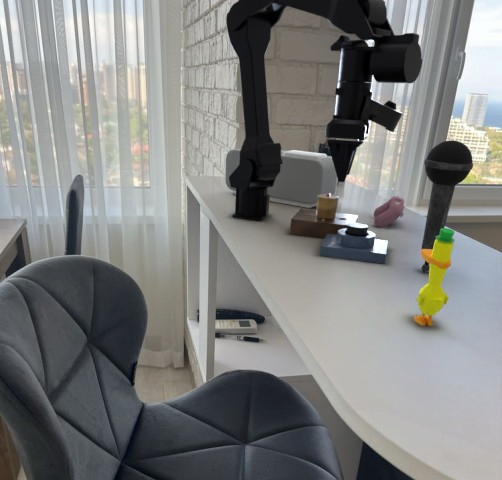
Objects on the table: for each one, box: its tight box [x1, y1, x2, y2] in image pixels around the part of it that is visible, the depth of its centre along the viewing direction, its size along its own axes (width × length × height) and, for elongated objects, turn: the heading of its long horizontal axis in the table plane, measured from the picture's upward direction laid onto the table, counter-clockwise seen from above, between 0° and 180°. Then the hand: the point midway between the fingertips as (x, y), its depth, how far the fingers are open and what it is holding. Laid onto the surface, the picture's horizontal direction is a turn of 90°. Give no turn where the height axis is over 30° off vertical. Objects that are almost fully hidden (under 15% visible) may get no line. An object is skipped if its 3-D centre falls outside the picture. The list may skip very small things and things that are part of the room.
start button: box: [346, 222, 369, 236], centre depth 88 cm, size 4×4×2 cm
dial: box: [315, 193, 339, 219], centre depth 99 cm, size 4×4×4 cm
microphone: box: [420, 139, 474, 273], centre depth 77 cm, size 7×7×20 cm
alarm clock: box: [224, 148, 339, 209], centre depth 127 cm, size 27×9×12 cm, turn 58°
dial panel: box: [289, 208, 359, 239], centre depth 101 cm, size 12×10×3 cm
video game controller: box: [373, 195, 405, 228], centre depth 110 cm, size 10×5×7 cm, turn 168°
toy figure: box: [413, 227, 455, 327], centre depth 61 cm, size 7×4×12 cm, turn 9°
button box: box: [319, 228, 389, 264], centre depth 89 cm, size 11×9×4 cm
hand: (343, 178), depth 92 cm, fingers open, 9 cm apart
